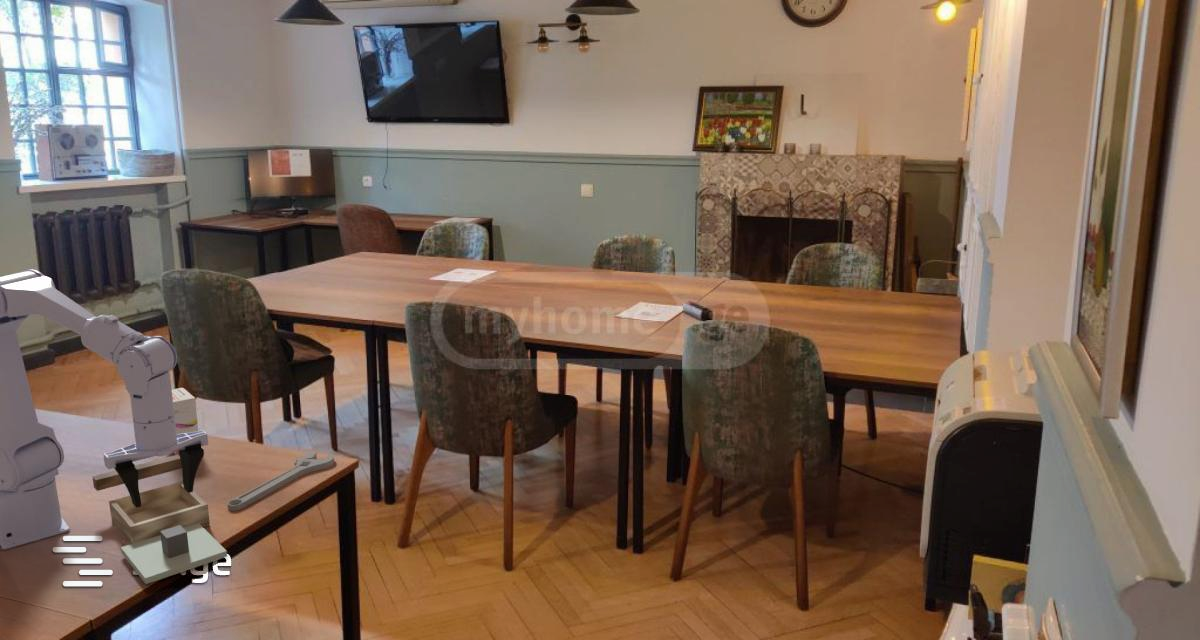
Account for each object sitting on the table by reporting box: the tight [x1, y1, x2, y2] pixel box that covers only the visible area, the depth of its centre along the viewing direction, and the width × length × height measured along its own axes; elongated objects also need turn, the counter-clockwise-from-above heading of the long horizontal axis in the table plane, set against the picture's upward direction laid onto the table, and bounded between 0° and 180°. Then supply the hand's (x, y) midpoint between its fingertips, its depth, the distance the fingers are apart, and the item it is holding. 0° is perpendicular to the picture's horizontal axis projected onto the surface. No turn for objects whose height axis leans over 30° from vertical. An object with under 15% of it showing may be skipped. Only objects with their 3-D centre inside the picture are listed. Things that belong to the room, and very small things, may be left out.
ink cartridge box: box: [172, 387, 199, 456], centre depth 177 cm, size 9×5×15 cm, turn 42°
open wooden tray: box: [108, 480, 211, 545], centre depth 148 cm, size 12×12×4 cm
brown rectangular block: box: [92, 454, 182, 492], centre depth 153 cm, size 14×2×2 cm, turn 133°
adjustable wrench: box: [227, 452, 335, 512], centre depth 165 cm, size 25×6×2 cm, turn 151°
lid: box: [120, 523, 228, 585], centre depth 137 cm, size 12×12×6 cm
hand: (163, 497), depth 137 cm, fingers open, 7 cm apart
